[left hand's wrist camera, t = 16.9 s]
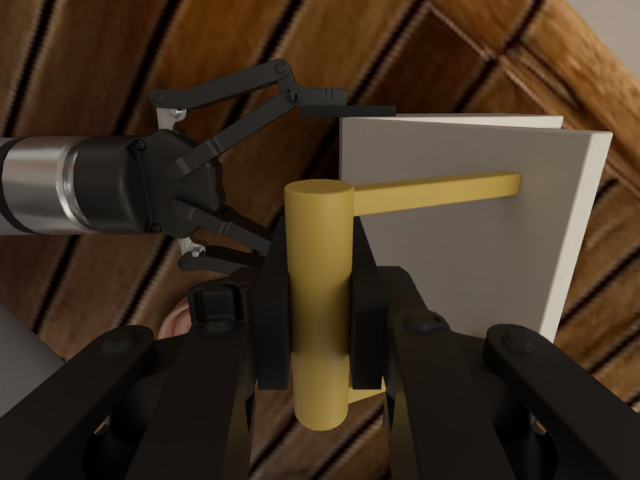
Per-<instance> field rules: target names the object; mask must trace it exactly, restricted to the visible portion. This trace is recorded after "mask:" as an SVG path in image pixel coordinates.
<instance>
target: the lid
mask: <svg viewBox="0 0 640 480" xmlns="http://www.w3.org/2000/svg"><path fill="white" fill-rule="evenodd" d="M612 135H613V133H611V132H607V131H588V130H570V129H551V128H533V127H515V126H496V125H478V124H459V123H441V122H423V121H404V120H386V119H367V118H343V120H342V181H339V180H329V179H311V180H302V181H296V182H292V183H290V184H287V185H286V186H285V188H284V199H285V220H286V242H287V263H288V276H289V300H290V324H291V348H292V370H293V391H294V411H295V415H296V417H297V419H298V420H299V421H300V423H301V424H303V425H304V426H305V427H307V428H309V429H312V430H317V431H325V430H330V429H333V428H335V427H337V426H338V425H340V424H341V423H342V422H343V420H344V419H345V417H346V415H347V412H348V404H349V403H352V402H355V401H358V400H361V399H364V398H367V397H370V396H373V395H376V394H379V393H381V392H384V391H386V387H385V383H384V379H383V375H382V387H381V390H353V389H352V380H351V372H349V325H350V295H351V271H352V247H353V217H354V216H359V217H360V220H361V222H362V225H363V228H364V231H365V234H366V237H367V239H368V242H369V245H370V248H371V251H372V254H373V257H374V259H375V262H376V265H377V266H400V267H401V268H403V269H404V270H405V271H407V272H408V273H409V274H410V276H411V278H412V280H413V283H414V284H415V285H416V287H417V290H418V291H419V293H420V295H421V297H422V299H423V301H424V303H425V304H426V306H427V308H428V310H430V311H433V312H436V313H437V314H439V315H440V316H442V317H443V318H444V319H445V320H446V321H447V323H448V324H449V326H450V328H451V331H454V332H457V333H461V334H464V335H470V336H475V337H480V338H485V337H486V332H487V330H488V329H489V328H490V327H491V326H492V325H496V324H500V323H501V324H517V325H521V326H524V327H526V328H529V329H531V330H533V331H536V332H538V333H539V334H541V335H542V336H544V337H545V338H547V339H548V340H549V341H550V342H552V343H553V341H554V338H555V334H556V331H557V327H558V324H559V320H560V317H561V313H562V310H563V306H564V303H565V299H566V296H567V292H568V289H569V285H570V282H571V278H572V275H573V271H574V268H575V264H576V261H577V257H578V254H579V250H580V247H581V243H582V240H583V236H584V233H585V230H586V226H587V223H588V219H589V216H590V212H591V209H592V205H593V202H594V198H595V195H596V191H597V188H598V184H599V181H600V177H601V174H602V170H603V167H604V163H605V160H606V156H607V153H608V149H609V146H610V142H611V139H612Z"/></svg>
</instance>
